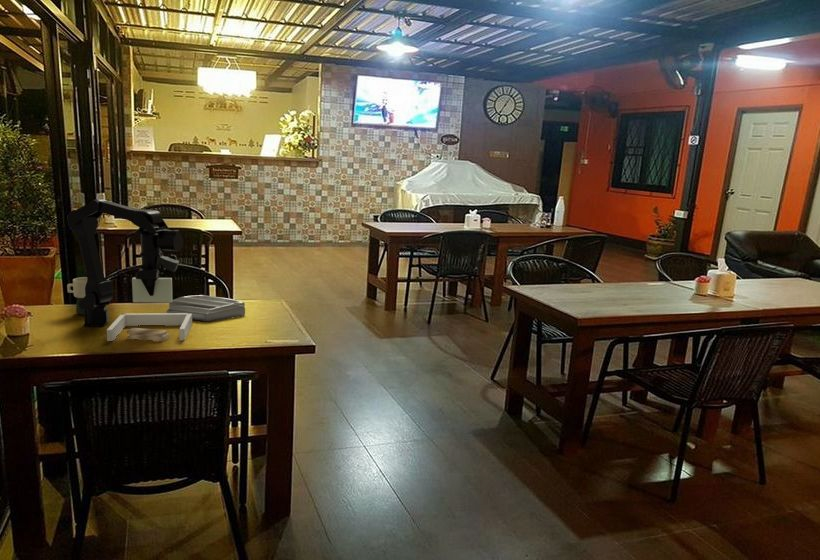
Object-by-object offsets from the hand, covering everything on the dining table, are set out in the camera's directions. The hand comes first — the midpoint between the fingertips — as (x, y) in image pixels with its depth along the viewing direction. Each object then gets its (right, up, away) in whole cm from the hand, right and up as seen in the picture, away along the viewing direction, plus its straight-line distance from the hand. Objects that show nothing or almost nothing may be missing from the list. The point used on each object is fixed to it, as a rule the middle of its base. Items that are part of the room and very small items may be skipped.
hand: (152, 294), depth 196 cm
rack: (0, -13, +1) cm, 13 cm away
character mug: (-32, -8, +18) cm, 38 cm away
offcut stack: (+1, -14, -5) cm, 15 cm away
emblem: (+8, -8, +29) cm, 31 cm away
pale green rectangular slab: (0, -2, +1) cm, 2 cm away
